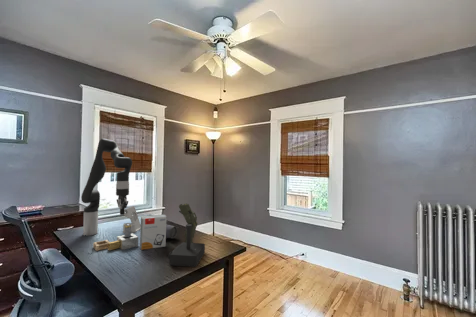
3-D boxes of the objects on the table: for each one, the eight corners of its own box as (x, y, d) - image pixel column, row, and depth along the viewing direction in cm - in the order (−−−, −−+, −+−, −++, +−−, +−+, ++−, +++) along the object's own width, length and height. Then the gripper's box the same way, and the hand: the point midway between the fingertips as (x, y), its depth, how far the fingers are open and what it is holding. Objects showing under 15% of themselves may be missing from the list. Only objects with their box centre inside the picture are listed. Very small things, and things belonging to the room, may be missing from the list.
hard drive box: (140, 250, 144) (141, 218, 144) (139, 246, 151) (140, 216, 151) (166, 246, 151) (166, 216, 151) (164, 242, 158) (164, 214, 158)
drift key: (107, 249, 144) (108, 242, 144) (123, 245, 150) (123, 239, 150) (109, 250, 142) (109, 243, 142) (124, 246, 148) (124, 240, 149)
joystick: (179, 252, 143) (179, 220, 143) (205, 253, 141) (205, 221, 141) (166, 266, 124) (167, 229, 124) (196, 268, 122) (196, 230, 122)
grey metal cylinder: (123, 245, 151) (123, 224, 151) (129, 244, 154) (129, 223, 154) (125, 247, 148) (125, 225, 149) (131, 245, 151) (132, 224, 151)
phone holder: (134, 233, 178) (134, 210, 178) (121, 232, 178) (122, 209, 179) (144, 226, 195) (144, 205, 196) (132, 226, 196) (133, 205, 196)
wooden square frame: (93, 247, 148) (93, 242, 148) (107, 244, 153) (107, 239, 153) (96, 250, 142) (96, 246, 142) (110, 247, 148) (110, 242, 148)
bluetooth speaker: (144, 237, 169) (144, 223, 169) (153, 233, 177) (153, 220, 177) (169, 241, 160) (169, 227, 160) (177, 237, 169) (177, 224, 169)
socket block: (116, 245, 151) (117, 236, 151) (132, 242, 158) (132, 233, 158) (121, 250, 144) (122, 240, 144) (138, 246, 151) (138, 237, 151)
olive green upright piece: (203, 246, 150) (194, 201, 153) (198, 250, 143) (189, 203, 146) (185, 248, 155) (177, 204, 157) (179, 252, 148) (171, 206, 150)
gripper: (133, 188, 147) (132, 215, 147) (124, 186, 156) (123, 212, 155) (121, 189, 141) (120, 217, 141) (112, 187, 150) (111, 213, 150)
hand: (122, 214), depth 148 cm, fingers closed
